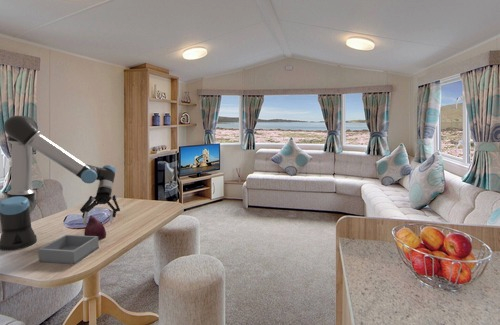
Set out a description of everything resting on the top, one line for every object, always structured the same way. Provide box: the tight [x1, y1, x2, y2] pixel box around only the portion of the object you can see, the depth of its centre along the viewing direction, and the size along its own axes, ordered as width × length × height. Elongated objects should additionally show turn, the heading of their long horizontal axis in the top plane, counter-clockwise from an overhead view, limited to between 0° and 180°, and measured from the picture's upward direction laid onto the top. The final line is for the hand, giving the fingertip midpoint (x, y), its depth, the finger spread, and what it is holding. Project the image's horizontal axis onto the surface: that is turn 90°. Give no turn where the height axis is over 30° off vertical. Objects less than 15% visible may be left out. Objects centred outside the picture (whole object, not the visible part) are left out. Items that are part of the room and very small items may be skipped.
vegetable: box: [83, 215, 107, 242], centre depth 154 cm, size 10×10×15 cm
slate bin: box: [37, 234, 100, 266], centre depth 136 cm, size 17×17×6 cm
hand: (97, 223), depth 156 cm, fingers open, 13 cm apart
